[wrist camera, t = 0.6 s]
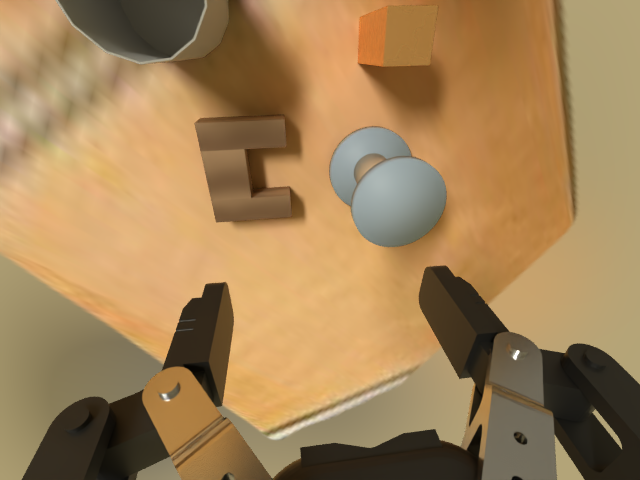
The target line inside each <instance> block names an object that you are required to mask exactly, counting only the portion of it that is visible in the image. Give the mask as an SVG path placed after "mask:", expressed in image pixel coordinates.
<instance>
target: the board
mask: <svg viewBox="0 0 640 480" xmlns="http://www.w3.org/2000/svg"><path fill="white" fill-rule="evenodd" d="M195 128H196V132H197V137H198V141H199V146H200V151H201V155H202V160H203V164H204V169H205V173H206V178H207V183H208V187H209V192H210V196H211V201H212V205H213V210H214V215H215V219H216V222H229V221H242V220H256V219H270V218H283V217H292V212H291V199H290V188H289V187H275V188H260V189H253V187H252V180H251V173H250V165H249V158H248V151H247V149H257V148H277V147H287V145H286V132H285V119H284V115H266V116H242V117H218V118H200V119H199V120H198V121H197V122H196V123H195Z"/></svg>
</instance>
